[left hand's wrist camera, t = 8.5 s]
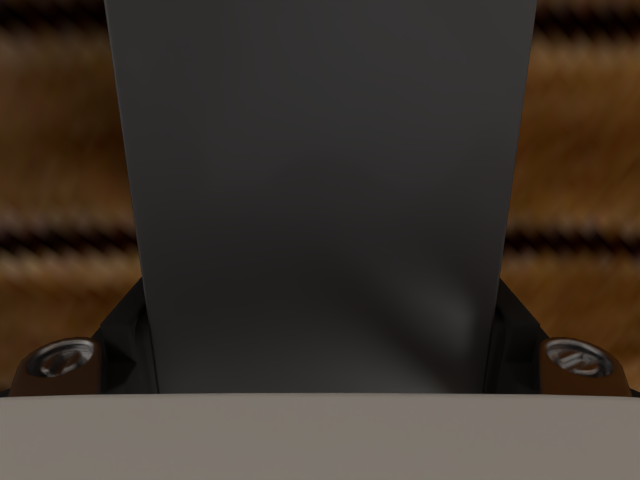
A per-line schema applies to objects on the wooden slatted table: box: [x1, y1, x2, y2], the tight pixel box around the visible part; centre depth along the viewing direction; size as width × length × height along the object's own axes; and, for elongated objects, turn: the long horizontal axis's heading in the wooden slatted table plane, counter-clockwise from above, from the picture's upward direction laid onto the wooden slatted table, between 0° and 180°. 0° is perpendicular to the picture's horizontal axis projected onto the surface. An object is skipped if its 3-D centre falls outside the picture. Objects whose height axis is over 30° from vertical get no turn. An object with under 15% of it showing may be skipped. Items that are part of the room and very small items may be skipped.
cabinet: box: [104, 0, 537, 394], centre depth 11 cm, size 21×6×10 cm, turn 0°
